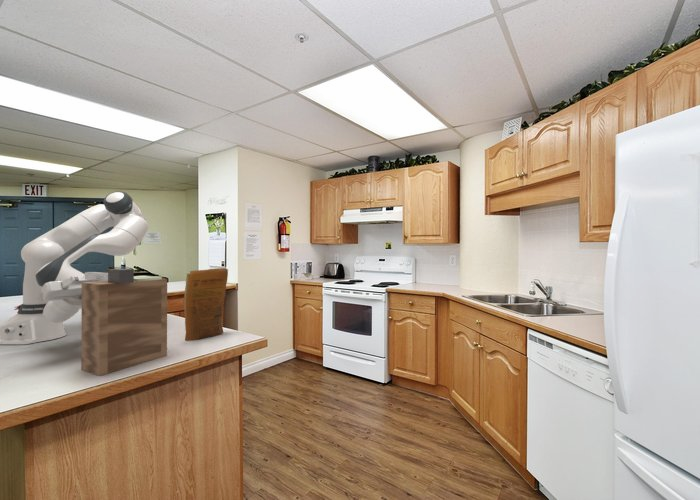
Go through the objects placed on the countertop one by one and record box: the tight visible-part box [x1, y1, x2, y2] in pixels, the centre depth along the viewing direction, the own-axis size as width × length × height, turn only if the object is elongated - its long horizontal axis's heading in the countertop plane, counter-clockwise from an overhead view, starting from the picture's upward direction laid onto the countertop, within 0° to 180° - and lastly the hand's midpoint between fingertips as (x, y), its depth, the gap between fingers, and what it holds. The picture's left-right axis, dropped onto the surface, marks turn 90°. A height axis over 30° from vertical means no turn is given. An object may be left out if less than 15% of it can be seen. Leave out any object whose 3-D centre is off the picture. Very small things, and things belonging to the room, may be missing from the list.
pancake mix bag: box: [183, 267, 229, 341], centre depth 132 cm, size 7×19×28 cm, turn 142°
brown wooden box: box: [80, 275, 168, 377], centre depth 103 cm, size 10×20×27 cm, turn 153°
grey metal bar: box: [84, 268, 135, 284], centre depth 100 cm, size 21×4×4 cm, turn 63°
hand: (93, 277), depth 104 cm, fingers open, 8 cm apart
